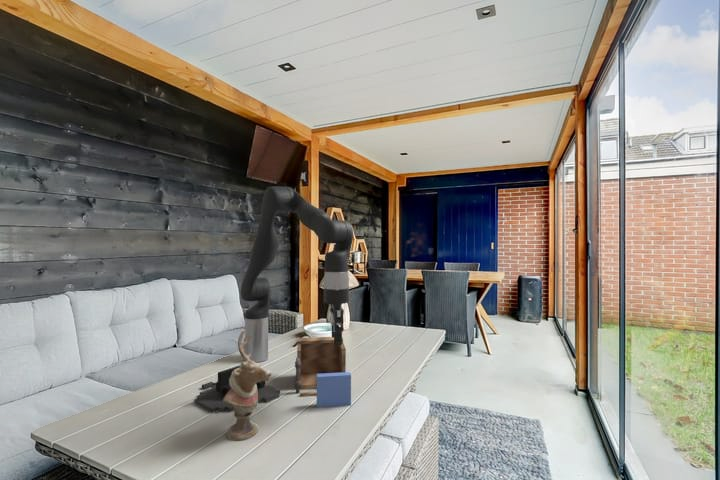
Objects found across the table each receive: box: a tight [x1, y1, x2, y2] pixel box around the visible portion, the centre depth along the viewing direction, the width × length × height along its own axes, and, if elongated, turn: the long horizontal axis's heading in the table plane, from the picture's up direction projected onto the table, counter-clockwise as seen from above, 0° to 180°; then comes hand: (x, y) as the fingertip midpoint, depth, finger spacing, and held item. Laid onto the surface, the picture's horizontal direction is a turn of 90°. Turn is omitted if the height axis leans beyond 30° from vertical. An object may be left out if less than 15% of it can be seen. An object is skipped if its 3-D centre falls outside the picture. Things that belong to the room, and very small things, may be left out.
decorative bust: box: [223, 330, 272, 441], centre depth 90 cm, size 11×13×25 cm
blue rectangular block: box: [316, 371, 352, 409], centre depth 105 cm, size 10×2×9 cm, turn 99°
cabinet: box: [294, 336, 347, 397], centre depth 120 cm, size 17×18×14 cm
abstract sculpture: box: [194, 365, 281, 414], centre depth 111 cm, size 25×9×20 cm
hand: (336, 341), depth 105 cm, fingers open, 8 cm apart
